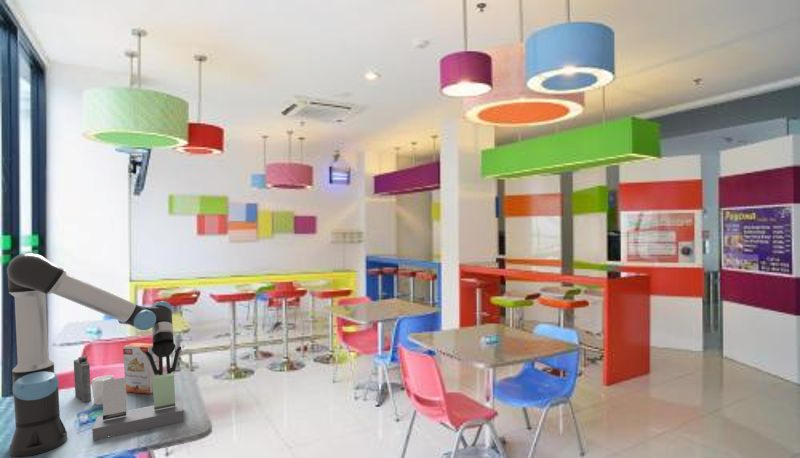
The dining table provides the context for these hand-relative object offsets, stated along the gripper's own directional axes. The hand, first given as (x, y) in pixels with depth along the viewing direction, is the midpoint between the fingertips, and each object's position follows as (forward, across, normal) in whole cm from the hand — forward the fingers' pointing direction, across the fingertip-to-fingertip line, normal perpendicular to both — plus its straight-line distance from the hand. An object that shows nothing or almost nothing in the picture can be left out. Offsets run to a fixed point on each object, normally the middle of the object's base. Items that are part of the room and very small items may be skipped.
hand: (165, 389), depth 169 cm
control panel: (+8, +9, -8) cm, 14 cm away
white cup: (-17, +24, -33) cm, 44 cm away
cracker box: (-20, +10, -37) cm, 43 cm away
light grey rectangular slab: (+4, +17, -4) cm, 18 cm away
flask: (-24, +32, -40) cm, 57 cm away
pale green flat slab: (+4, +1, -4) cm, 6 cm away
